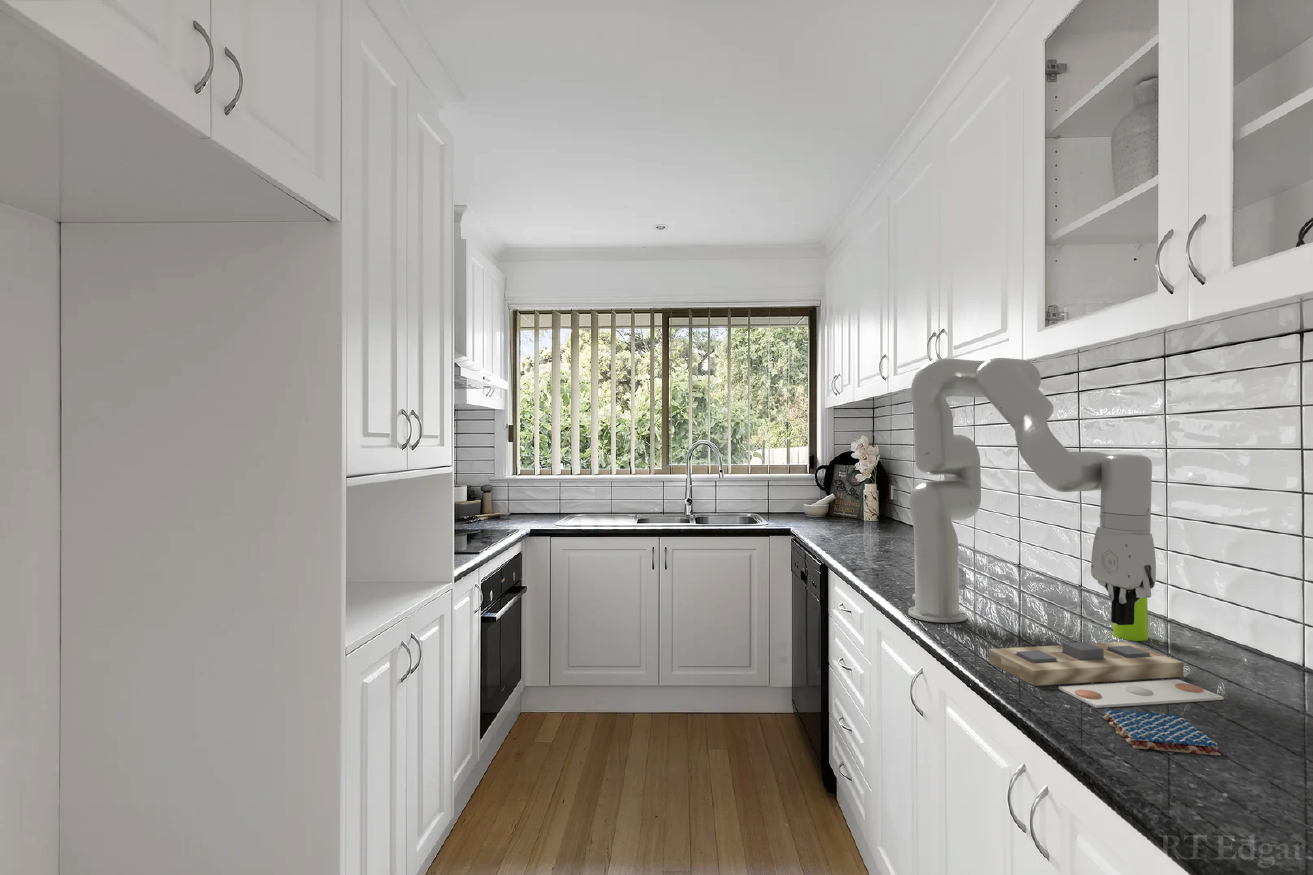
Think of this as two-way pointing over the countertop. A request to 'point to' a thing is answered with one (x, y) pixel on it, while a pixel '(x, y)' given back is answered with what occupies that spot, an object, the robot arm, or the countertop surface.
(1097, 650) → the button
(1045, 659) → the button
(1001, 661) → the button board
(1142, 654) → the button
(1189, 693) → the card
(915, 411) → the robot arm
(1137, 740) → the woven mat
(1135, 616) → the soap dispenser
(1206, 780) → the countertop surface
